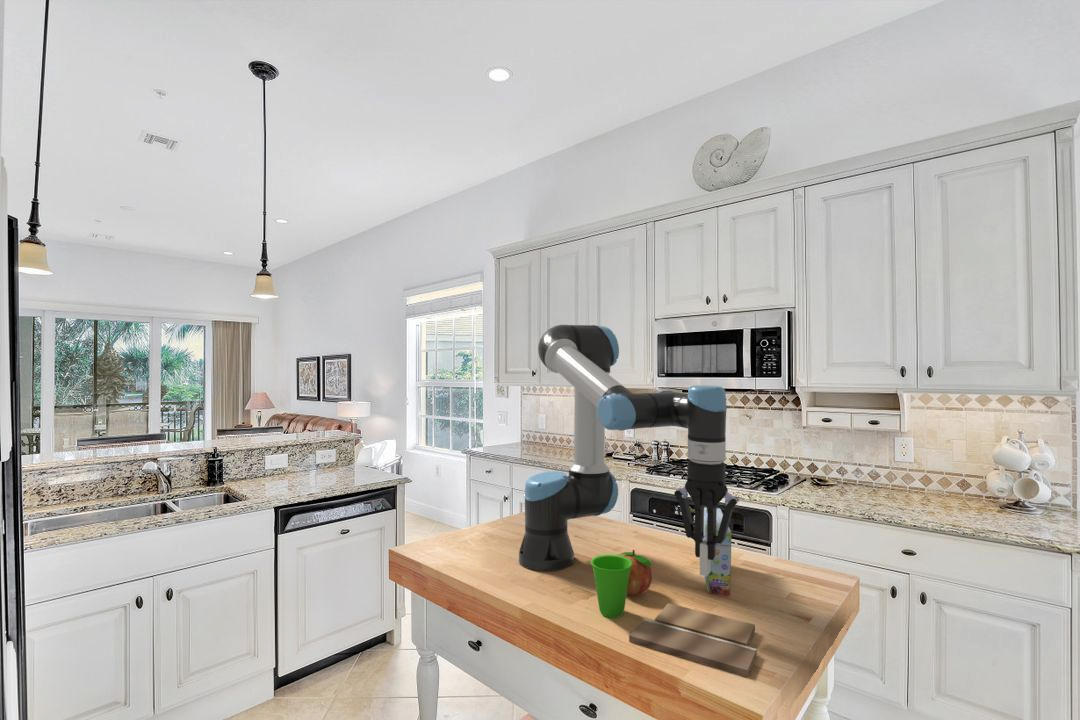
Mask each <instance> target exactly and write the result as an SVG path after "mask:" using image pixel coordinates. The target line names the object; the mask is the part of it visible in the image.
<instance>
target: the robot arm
mask: <svg viewBox="0 0 1080 720" xmlns="http://www.w3.org/2000/svg"><path fill="white" fill-rule="evenodd" d="M618 341H619V340H618V339H617V337H616V333H615V334H614V332H613V330H611V329H610V328H609V327H607V326H603V325H597V324H593V325H590V324H589V325H588V324H585V325H583V324H581V325H580V324H559V325H555V326H552V327H550V328H549V329H547V330H546V331H545V332H544V333H543V334H542V336H541V338H540V339H539V343H538V347H537V351H538V357H539V359H540V361H541V363H542V365H544V366H545V368H547V369H548V370H549V371H550V372H552V373H555V374H559V375H560V376H562V377H563V378H564V379H565V380H566V381H567V382H568V383H569V384H571V386H573V387H574V404H573V405H574V406H573V407H574V409H573V411H574V417H573V419H574V421H573V422H574V424H573V427H574V428H573V429H574V431H573V438H574V439H573V441H574V442H573V444H574V445H573V450H574V452H573V453H574V454H573V455H574V456H573V462H572V464H571V465H569V467H568V476H567V474H566V473H565V472H562V471H557V470H556V471H554V470H553V471H546V472H545V471H544V472H540V473H537V474H534V475H531V476H530V477H529V478H527V480H526V482H525V484H524V494H523V498H524V535H523V538H522V542H521V545H520V547H519V551H518V561H519V564H520V565H522V566H523V567H524V568H527V569H530V570H536V571H546V572H547V571H548V572H550V571H558V570H562V569H566V568H568V567H570V566H572V565H573V564H574V562H575V551H574V549H573V545H572V541H571V538H570V536H569V534H568V533H569V532H568V520H575V519H579V518H580V519H581V518H587V517H596V516H601V515H604V514H607V513H609V512H611V511H612V509H614V508H615V506H616V505H617V501H618V497H619V487H618V486H619V485H618V483H617V482H616V481H617V479H616V477H615V475H614V474H612V472H611V471H610V470H611V469H610V467H609V466H608V465H607V463H605V429H606V430H608V431H609V430H610V431H619V432H621V431H625V430H626V431H627V430H636V429H645V428H646V429H647V428H661V427H662V428H663V427H664V428H665V427H677V428H683V429H687V458H688V461H687V472H686V474H687V480H686V482H685V484H684V486H683V487H682V488H681V487H680V488H678V489H677V490H675V491H674V494H673V495H674V496H675V498H676V501H678V504H679V508H680V514H681V517H682V518H681V519H682V523H683V526H684V530H685V531H684V532H685V536H686V537H687V538H688V539H689V538H690V539H692V540H693V541H694V552H695V553H694V554H695V557H696V558H699V576H703V577H705V576H706V577H707V576H708V574H709V573H710V566H711V560H713V559H714V558H715V554H716V544H717V543H719V544H721V543H722V542H723V541H724V540H725V537H726V533H727V530H728V526H729V525H730V522H731V519H732V518H731V517H732V515H733V512H734V508H735V507H736V505H738V503H739V501H740V499H739V498H740V497H737V496H734V495H732V494H731V493H729V491H728V487H727V485H726V463H725V462H724V461H725V460H726V456H727V455H726V454H727V453H726V452H727V451H726V449H727V448H726V447H727V446H726V445H727V443H726V440H727V439H726V429H727V428H726V427H727V425H726V424H727V409H728V405H727V396H726V395H727V394H726V390H725V388H723V387H722V386H719V385H706V384H705V385H697V384H695V385H691V386H689V387H688V392H687V393H686V392H677V391H673V390H658V391H656V392H644V393H643V392H642V393H641V392H640V393H637V392H636V393H635V392H632V391H630V390H629V389H628V388H627V387H626V386H624V385H622V383H620V382H619V381H618V380H616V378H614V377H613V376H611V375H610V374H611V367H612V366H614V365H615V364H616V363H617V360H618V359H619V356H620V347H619V342H618ZM688 495H689V496H690V498H691V500H692V501H693V502H694V503H693V504H694V505H693V508H694V521H693V516H692V512H691V507H690V503H689V499H688V498H689V496H688ZM723 499H724V504H725V507H724V510H723V512H722V513H723V517H722V520H721V524H720V528H719V531H718V535H717V536H716V514H717V508H718V504H719V503H721V501H722V500H723ZM705 507H706V508H707V540H703V538H704V537H705V536H704V508H705Z"/></svg>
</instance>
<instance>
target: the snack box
mask: <svg viewBox="0 0 1080 720" xmlns="http://www.w3.org/2000/svg"><path fill="white" fill-rule="evenodd" d="M723 513H724V512H723V511H722V509H721V508H719V507H717V514H716V536H717V535H718V531H719V528H720V524H721V520H722V517H723ZM704 536H705V537H704V538H703V540H707V507H704ZM731 567H732V531H731V529H730V527H729V526H728V530H727V533H726V537H725V540H724V541H723V542H722V543H721V544H719V543H717V544H716V554H715V558H714V559H713V560H711V566H710V573H709V574H708V576H707V577H706V576H704V578H705V580H704V581H705V585H706V589H707V593H708V594H712V595H721V596H731V575H732V570H731V569H732V568H731Z"/></svg>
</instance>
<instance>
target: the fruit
mask: <svg viewBox="0 0 1080 720" xmlns="http://www.w3.org/2000/svg"><path fill="white" fill-rule="evenodd" d="M620 555H621V556H623V557H626V558H628V559H630V560H631V561H632V564H633V565H632V567H631V568H630V575H629V581H628V588H627V595H630V596H640V595H643V594H644V593H646V592H647V591H648V590H649V588H650V586H651V584H652V581H653V570H652V567H653V564H652V562H651V561H650V559H649V558H647V557H645V556H643V555H640V554H636V553H635V549H632V551H624V552H622V553H620Z"/></svg>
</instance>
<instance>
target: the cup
mask: <svg viewBox="0 0 1080 720" xmlns="http://www.w3.org/2000/svg"><path fill="white" fill-rule="evenodd" d="M623 556H624V555H619V554H599V555H597V556H594V557H593V558H592V559H591V560H590V565H591V566H592V570H593V577H594V581H595V582H594V583H595V588H596V595H597V601H598V608H599V612H600V614H601V615H602V616H604V617H605V618H611V619H614V618H619V617H620V618H621V617H622V616H623V614H624V613H625V606H626V600H627V595H628V594H627V588H628V581H629V575H630V568H631V567H632V565H633V564H632V561H631V560H630V559H628V558H626V557H623Z"/></svg>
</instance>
